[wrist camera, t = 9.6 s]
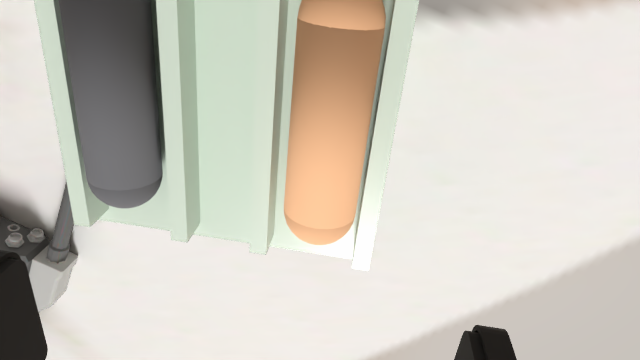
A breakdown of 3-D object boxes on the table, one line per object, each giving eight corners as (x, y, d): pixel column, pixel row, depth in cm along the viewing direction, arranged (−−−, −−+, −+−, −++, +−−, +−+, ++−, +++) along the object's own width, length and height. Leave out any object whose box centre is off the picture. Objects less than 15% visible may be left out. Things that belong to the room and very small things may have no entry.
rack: (54, -144, 22) (5, -157, 19) (432, -105, 21) (440, -113, 18) (104, 211, 31) (76, 238, 28) (367, 252, 30) (366, 284, 27)
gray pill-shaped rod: (82, -70, 22) (25, -73, 19) (161, -61, 22) (118, -62, 19) (113, 182, 29) (76, 216, 25) (175, 192, 29) (145, 227, 25)
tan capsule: (306, -34, 22) (295, -30, 18) (390, -25, 22) (395, -19, 18) (286, 215, 28) (276, 254, 25) (351, 224, 28) (350, 264, 25)
